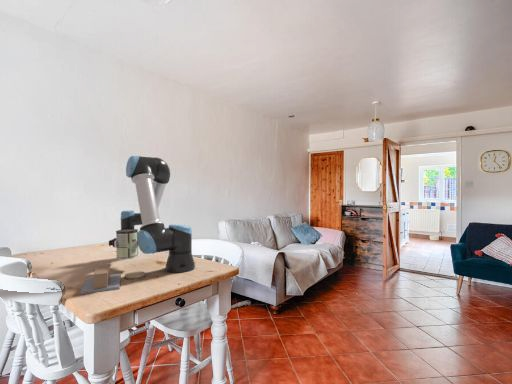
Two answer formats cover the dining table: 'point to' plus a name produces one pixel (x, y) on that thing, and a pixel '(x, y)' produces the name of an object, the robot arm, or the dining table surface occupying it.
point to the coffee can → (127, 244)
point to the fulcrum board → (110, 287)
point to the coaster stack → (135, 275)
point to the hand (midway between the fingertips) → (127, 244)
